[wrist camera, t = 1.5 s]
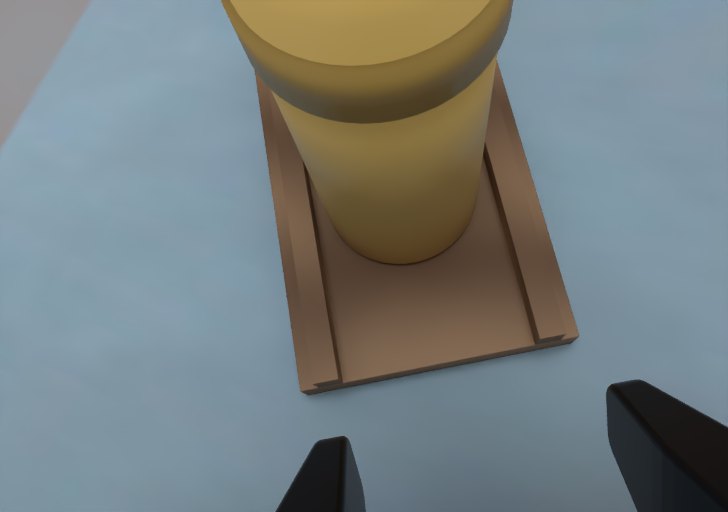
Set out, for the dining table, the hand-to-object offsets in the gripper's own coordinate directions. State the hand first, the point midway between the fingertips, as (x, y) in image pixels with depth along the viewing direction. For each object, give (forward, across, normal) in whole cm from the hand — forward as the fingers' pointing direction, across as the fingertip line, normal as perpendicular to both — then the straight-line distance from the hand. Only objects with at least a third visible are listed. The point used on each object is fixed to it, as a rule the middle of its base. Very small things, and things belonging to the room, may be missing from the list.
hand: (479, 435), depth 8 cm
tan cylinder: (+14, 0, +2) cm, 14 cm away
